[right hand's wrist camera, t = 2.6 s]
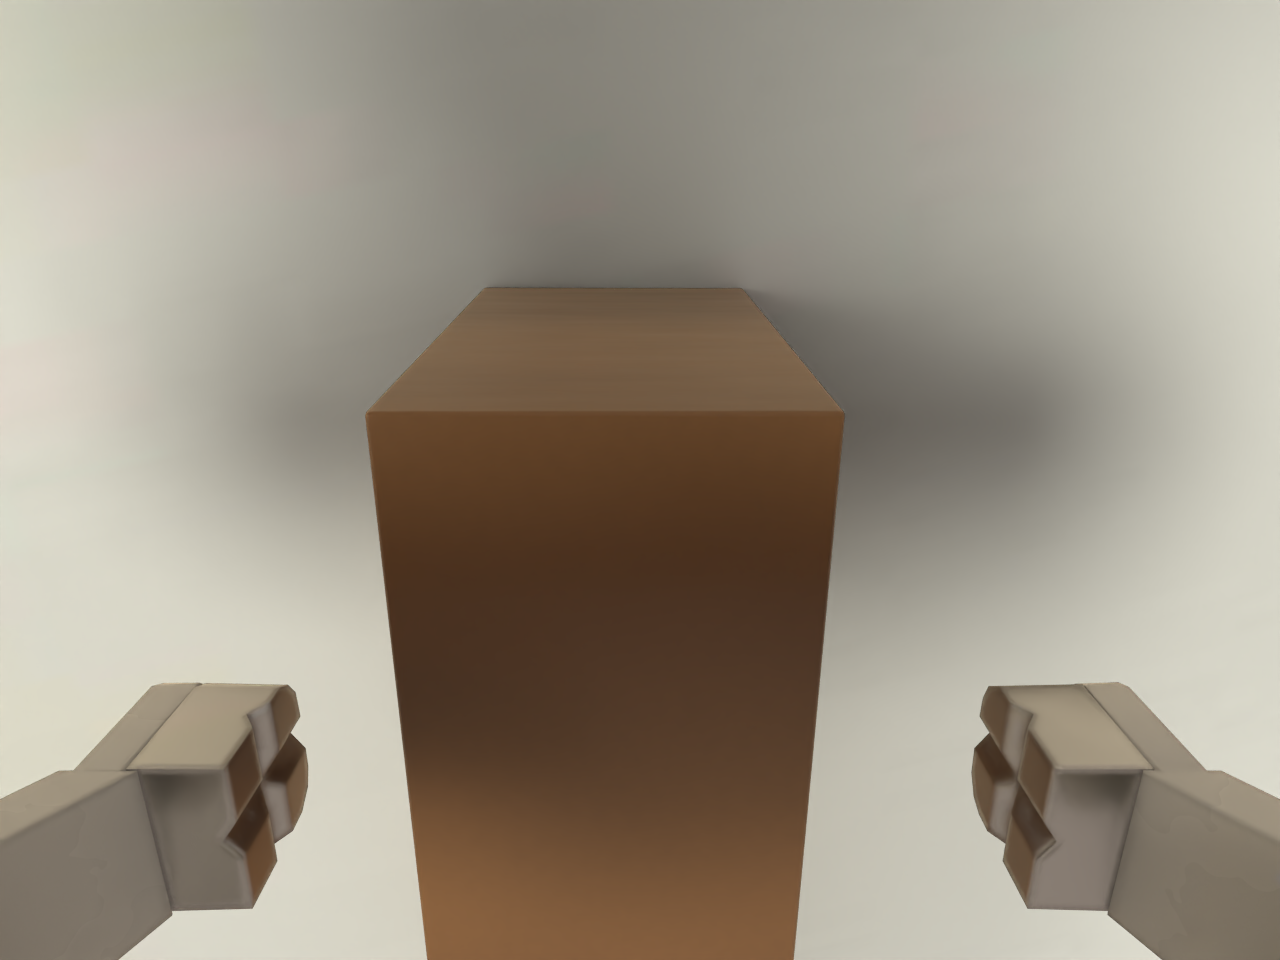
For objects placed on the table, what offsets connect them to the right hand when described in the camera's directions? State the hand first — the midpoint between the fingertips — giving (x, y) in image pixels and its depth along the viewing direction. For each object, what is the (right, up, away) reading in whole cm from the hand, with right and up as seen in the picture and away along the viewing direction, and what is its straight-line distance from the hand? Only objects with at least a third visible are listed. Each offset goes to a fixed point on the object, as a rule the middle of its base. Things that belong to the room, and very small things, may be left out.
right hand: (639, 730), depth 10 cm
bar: (-1, -3, +12) cm, 12 cm away
